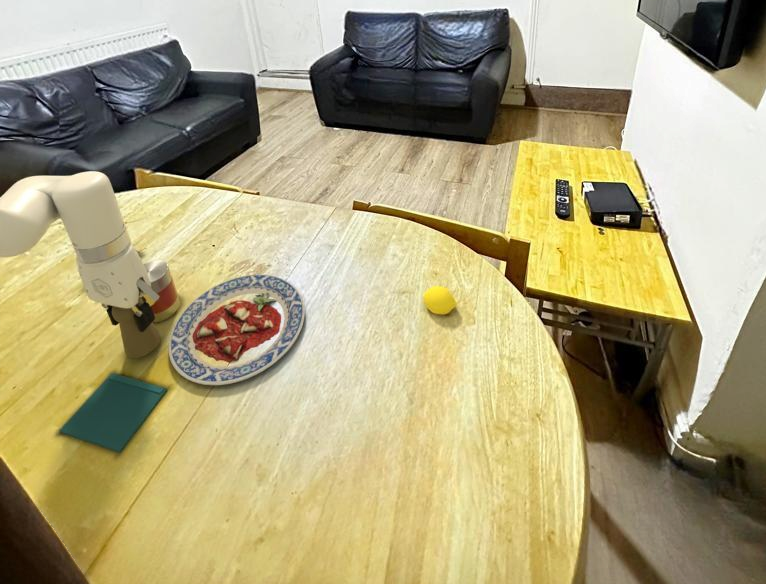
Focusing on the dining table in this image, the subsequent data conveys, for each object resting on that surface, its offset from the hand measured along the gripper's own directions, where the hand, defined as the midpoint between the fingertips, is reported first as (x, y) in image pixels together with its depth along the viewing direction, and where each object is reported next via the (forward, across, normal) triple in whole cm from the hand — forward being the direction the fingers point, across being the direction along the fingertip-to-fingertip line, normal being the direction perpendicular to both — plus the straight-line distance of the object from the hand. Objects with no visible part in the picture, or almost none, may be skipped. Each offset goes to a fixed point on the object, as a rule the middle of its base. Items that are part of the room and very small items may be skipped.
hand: (134, 321), depth 76 cm
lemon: (+9, +53, +23) cm, 58 cm away
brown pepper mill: (+6, 0, 0) cm, 6 cm away
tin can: (+8, -4, +9) cm, 13 cm away
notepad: (+8, +4, -10) cm, 14 cm away
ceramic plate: (+8, +15, +9) cm, 19 cm away
